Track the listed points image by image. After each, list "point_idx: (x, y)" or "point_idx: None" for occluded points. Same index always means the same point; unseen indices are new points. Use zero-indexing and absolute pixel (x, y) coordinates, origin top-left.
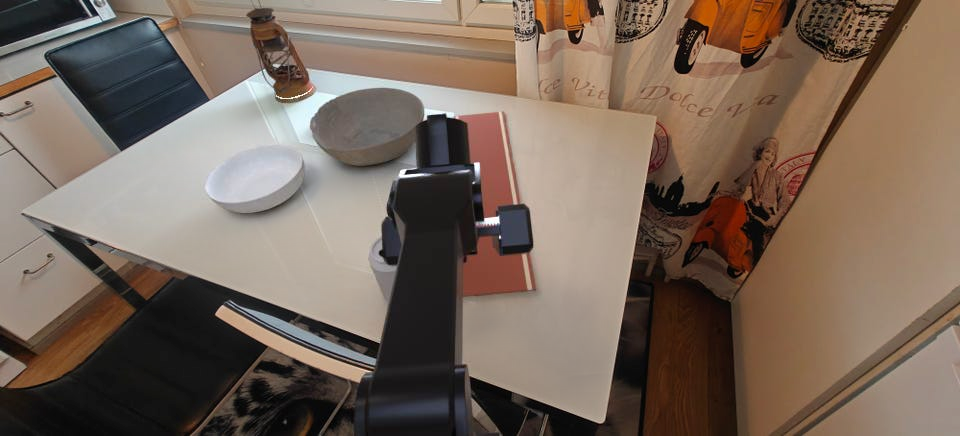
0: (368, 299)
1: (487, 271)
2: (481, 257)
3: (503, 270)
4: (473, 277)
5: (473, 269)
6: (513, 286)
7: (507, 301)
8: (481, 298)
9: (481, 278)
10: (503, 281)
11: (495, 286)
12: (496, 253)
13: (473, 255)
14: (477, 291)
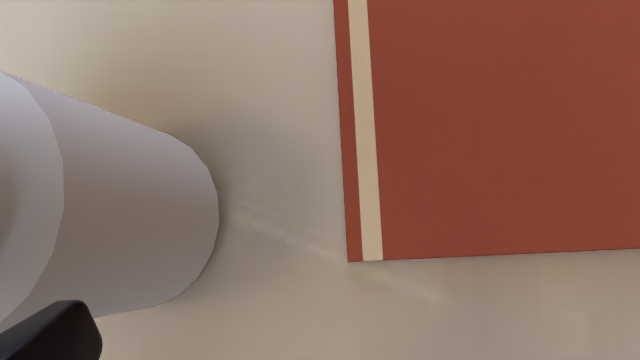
0: None
1: (497, 127)
2: (464, 43)
3: (579, 122)
4: (429, 161)
5: (427, 115)
6: (634, 221)
7: (599, 299)
8: (470, 274)
9: (468, 168)
10: (580, 188)
11: (538, 215)
12: (541, 17)
13: (425, 32)
14: (451, 241)
